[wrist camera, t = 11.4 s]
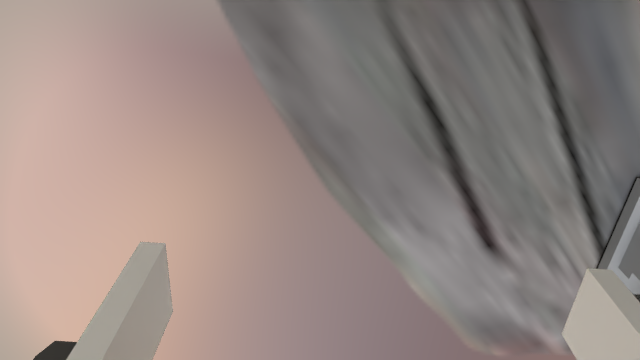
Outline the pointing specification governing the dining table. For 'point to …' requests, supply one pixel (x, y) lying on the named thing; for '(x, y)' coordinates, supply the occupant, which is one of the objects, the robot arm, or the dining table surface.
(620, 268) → the fulcrum
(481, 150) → the dining table surface
